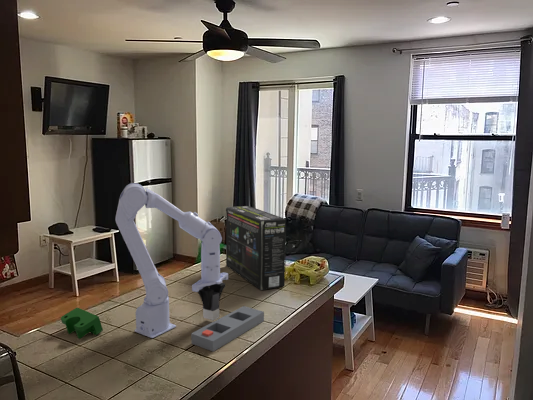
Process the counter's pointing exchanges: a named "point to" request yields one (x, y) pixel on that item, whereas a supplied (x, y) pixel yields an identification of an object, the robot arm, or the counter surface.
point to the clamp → (82, 322)
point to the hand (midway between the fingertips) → (211, 307)
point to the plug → (212, 308)
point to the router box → (256, 246)
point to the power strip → (227, 328)
